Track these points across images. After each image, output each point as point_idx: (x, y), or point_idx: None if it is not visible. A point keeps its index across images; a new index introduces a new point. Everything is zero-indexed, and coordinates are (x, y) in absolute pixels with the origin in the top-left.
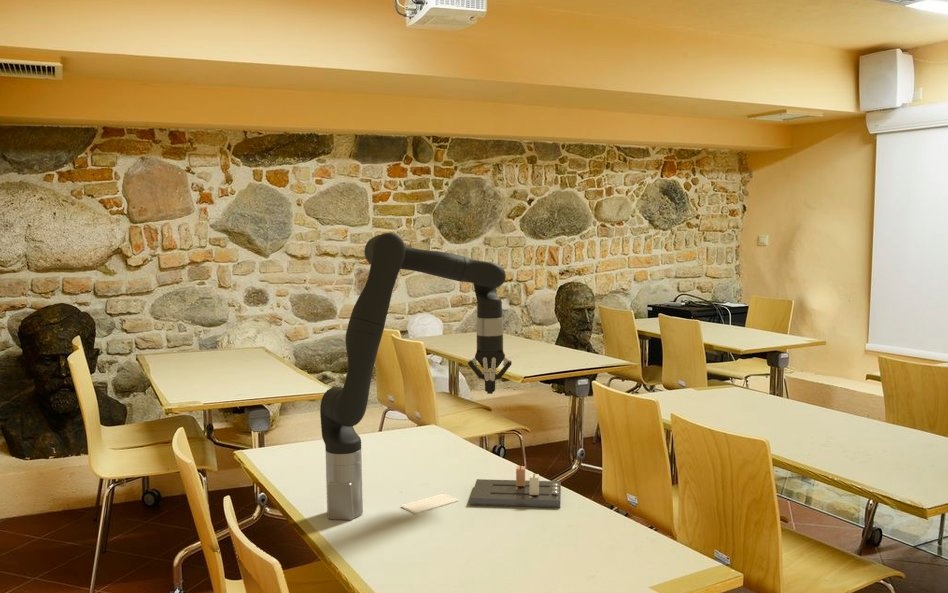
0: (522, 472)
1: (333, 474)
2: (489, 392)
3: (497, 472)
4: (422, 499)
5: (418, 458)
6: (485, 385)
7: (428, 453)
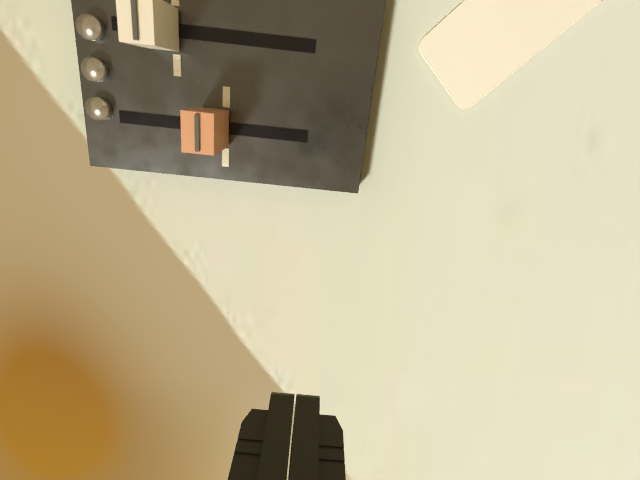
0: (193, 110)
1: None
2: (298, 398)
3: (294, 302)
4: (539, 49)
5: (504, 412)
6: (339, 472)
7: (474, 446)
